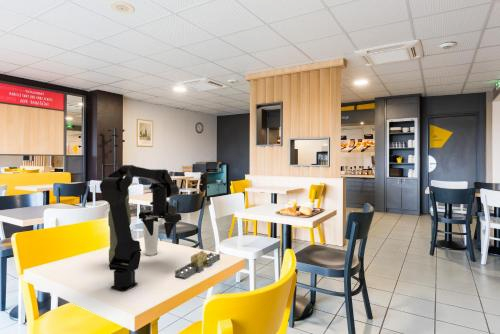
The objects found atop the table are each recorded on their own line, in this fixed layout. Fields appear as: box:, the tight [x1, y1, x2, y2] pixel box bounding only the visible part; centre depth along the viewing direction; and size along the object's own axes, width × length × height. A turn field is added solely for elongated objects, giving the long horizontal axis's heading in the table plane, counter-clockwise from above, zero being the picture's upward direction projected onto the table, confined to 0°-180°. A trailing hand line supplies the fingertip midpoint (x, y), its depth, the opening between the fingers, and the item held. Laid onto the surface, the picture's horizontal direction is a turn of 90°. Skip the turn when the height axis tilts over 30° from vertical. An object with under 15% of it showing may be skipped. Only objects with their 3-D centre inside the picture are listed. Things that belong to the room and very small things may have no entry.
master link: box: [190, 250, 208, 268], centre depth 127 cm, size 6×4×6 cm, turn 154°
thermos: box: [107, 188, 132, 265], centre depth 130 cm, size 9×12×35 cm
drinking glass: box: [143, 220, 159, 256], centre depth 145 cm, size 7×7×15 cm
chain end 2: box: [206, 252, 221, 268], centre depth 133 cm, size 11×7×2 cm, turn 154°
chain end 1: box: [174, 262, 205, 280], centre depth 121 cm, size 11×7×2 cm, turn 154°
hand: (159, 236), depth 128 cm, fingers open, 9 cm apart
